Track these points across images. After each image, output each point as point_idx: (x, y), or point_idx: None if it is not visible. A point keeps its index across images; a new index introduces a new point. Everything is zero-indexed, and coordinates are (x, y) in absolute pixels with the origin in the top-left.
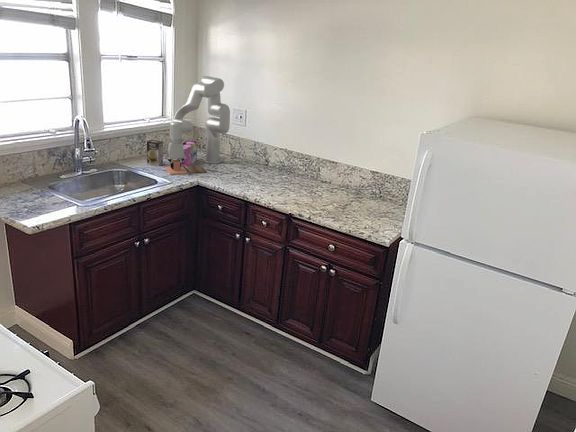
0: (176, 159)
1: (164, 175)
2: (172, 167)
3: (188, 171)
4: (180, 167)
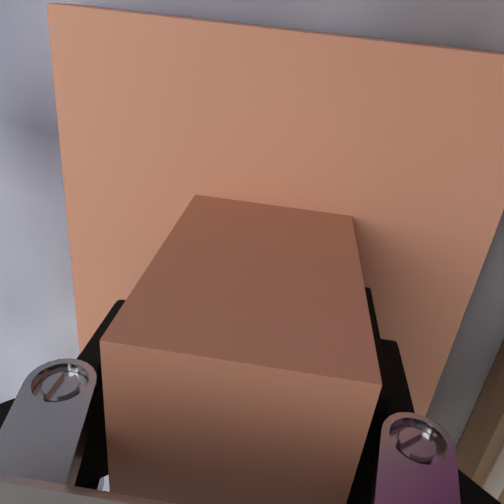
0: (320, 389)
1: (11, 388)
2: None
3: (486, 403)
4: None
